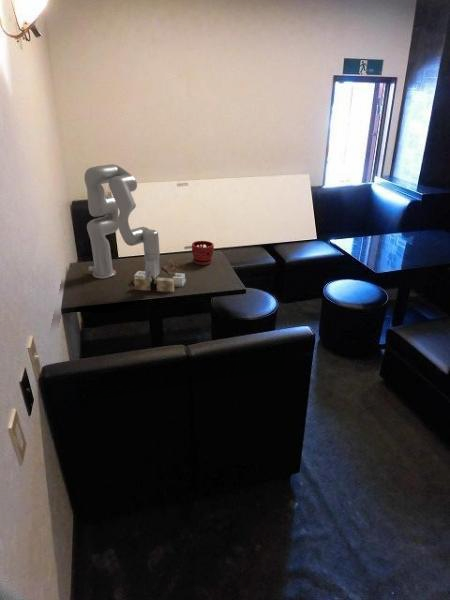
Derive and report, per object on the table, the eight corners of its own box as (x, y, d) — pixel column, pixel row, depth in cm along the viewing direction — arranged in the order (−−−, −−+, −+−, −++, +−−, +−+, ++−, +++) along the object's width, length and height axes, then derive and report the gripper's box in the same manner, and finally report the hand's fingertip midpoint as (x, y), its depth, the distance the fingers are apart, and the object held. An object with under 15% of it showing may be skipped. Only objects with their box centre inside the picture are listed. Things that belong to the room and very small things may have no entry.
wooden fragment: (180, 275, 229) (180, 273, 229) (160, 275, 228) (160, 274, 228) (181, 259, 252) (181, 258, 252) (163, 260, 252) (163, 258, 251)
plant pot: (193, 267, 240) (193, 247, 235) (191, 259, 252) (190, 241, 247) (215, 265, 242) (215, 246, 237) (211, 258, 254) (211, 239, 249)
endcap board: (133, 283, 217) (132, 275, 215) (138, 278, 224) (137, 270, 222) (182, 286, 213) (182, 278, 212) (186, 280, 221) (186, 273, 219)
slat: (135, 289, 210) (134, 278, 207) (136, 287, 212) (135, 277, 210) (173, 292, 207) (172, 281, 205) (174, 290, 210) (173, 279, 207)
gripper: (149, 249, 209) (152, 282, 217) (139, 260, 195) (142, 295, 203) (163, 250, 208) (165, 283, 216) (154, 260, 194) (157, 295, 202)
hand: (154, 288), depth 210 cm, fingers closed on slat, 2 cm apart
